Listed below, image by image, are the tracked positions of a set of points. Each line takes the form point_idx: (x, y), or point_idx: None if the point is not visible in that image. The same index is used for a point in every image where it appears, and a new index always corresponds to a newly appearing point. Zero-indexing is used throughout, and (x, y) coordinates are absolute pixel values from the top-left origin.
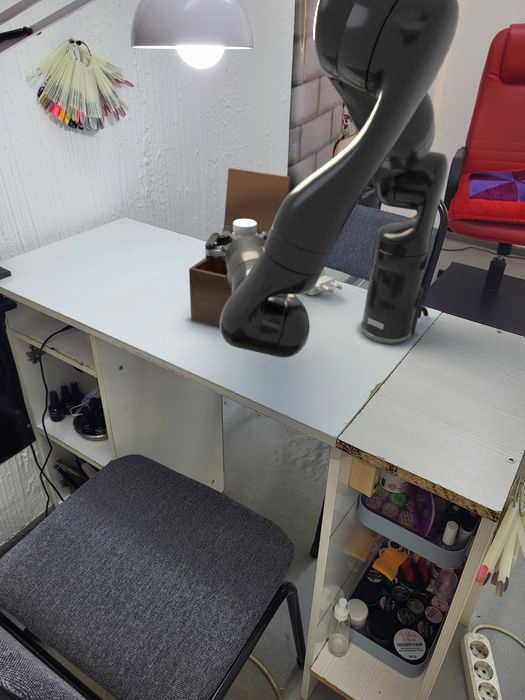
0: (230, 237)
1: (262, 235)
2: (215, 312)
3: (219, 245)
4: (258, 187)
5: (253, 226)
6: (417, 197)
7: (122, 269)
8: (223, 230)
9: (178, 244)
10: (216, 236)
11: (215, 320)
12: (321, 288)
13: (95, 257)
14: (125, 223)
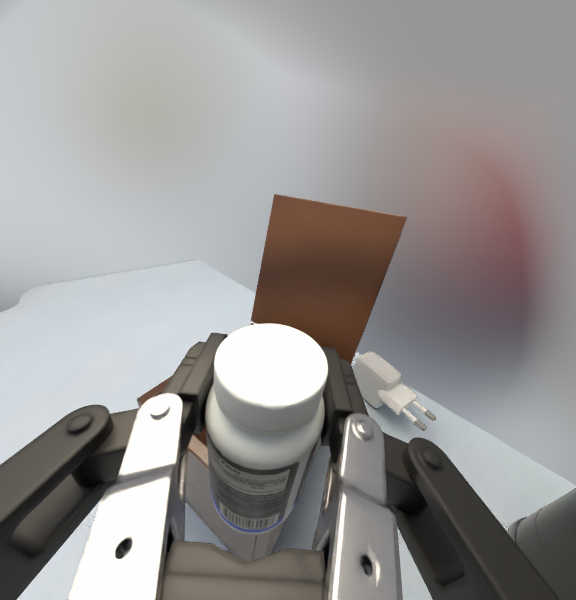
0: (80, 579)
1: (383, 560)
2: (191, 495)
3: (106, 478)
4: (327, 234)
5: (311, 398)
6: None
7: (146, 316)
8: (187, 359)
9: (229, 291)
10: (38, 475)
11: (193, 504)
12: (400, 412)
13: (134, 295)
14: (196, 264)
